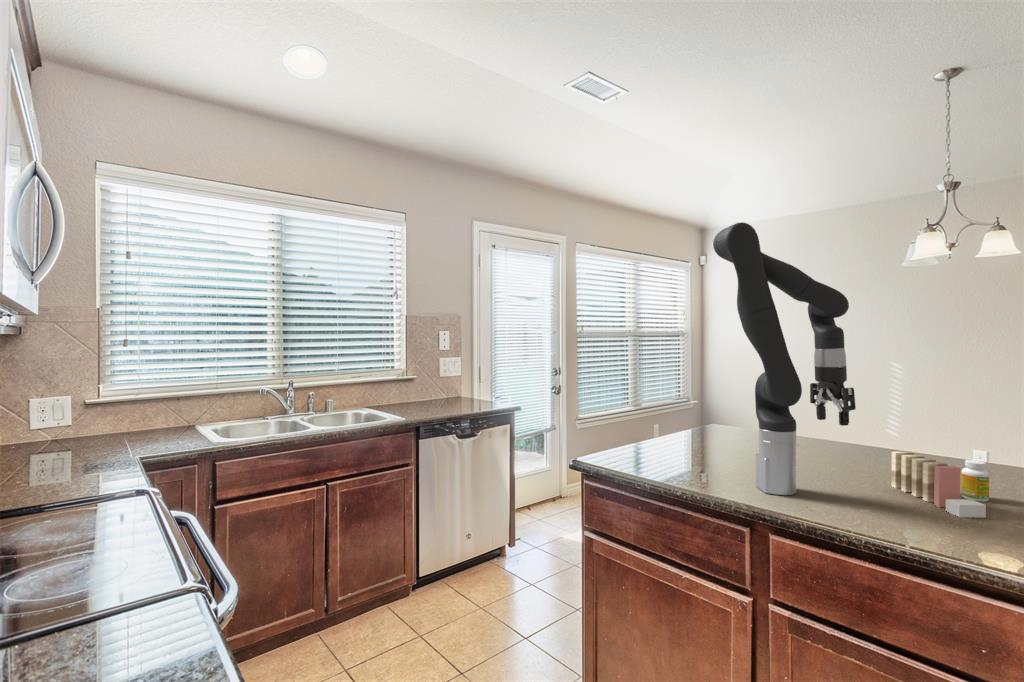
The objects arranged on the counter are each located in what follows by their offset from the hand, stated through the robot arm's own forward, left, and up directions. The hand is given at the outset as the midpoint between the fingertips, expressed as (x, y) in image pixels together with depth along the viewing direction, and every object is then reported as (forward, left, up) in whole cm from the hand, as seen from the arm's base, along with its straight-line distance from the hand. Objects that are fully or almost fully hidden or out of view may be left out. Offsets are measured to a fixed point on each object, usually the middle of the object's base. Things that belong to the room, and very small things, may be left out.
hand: (832, 422), depth 140 cm
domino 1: (+20, +2, -19) cm, 28 cm away
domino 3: (+20, -6, -19) cm, 28 cm away
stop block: (+20, -19, -19) cm, 33 cm away
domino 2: (+20, -2, -19) cm, 28 cm away
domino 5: (+20, -13, -19) cm, 31 cm away
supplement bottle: (+32, -7, -19) cm, 38 cm away
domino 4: (+20, -10, -19) cm, 29 cm away
